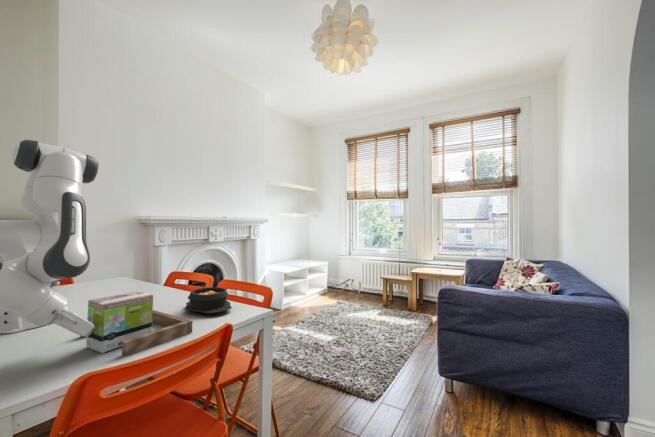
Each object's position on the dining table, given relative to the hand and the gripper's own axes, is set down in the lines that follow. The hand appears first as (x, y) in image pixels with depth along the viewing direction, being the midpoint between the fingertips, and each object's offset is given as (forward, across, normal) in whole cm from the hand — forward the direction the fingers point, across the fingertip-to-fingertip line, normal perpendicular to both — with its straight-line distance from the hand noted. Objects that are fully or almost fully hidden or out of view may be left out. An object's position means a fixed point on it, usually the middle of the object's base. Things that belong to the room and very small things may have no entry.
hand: (88, 332), depth 90 cm
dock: (+14, 0, -7) cm, 15 cm away
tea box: (+10, -2, -2) cm, 10 cm away
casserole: (+37, +4, -29) cm, 47 cm away
